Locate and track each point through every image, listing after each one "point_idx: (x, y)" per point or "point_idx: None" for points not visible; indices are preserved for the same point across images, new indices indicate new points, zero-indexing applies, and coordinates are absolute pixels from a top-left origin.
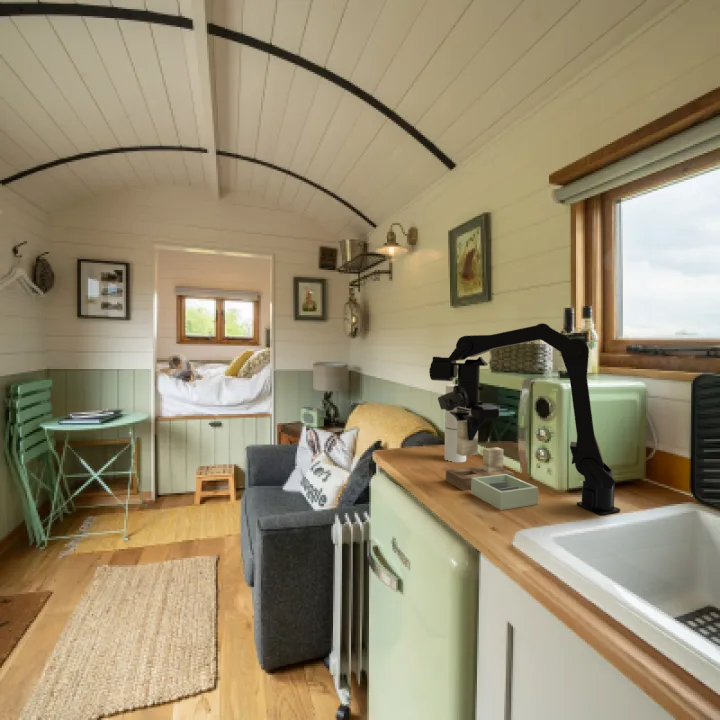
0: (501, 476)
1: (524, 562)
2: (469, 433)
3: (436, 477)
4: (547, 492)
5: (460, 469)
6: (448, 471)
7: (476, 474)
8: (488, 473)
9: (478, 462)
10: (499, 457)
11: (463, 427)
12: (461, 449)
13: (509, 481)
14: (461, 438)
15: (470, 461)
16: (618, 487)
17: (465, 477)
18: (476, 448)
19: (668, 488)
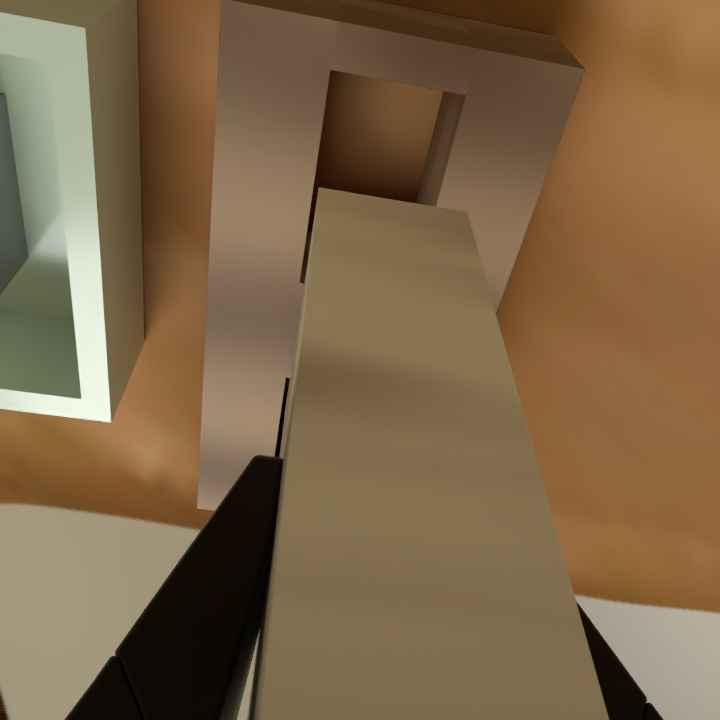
0: (79, 354)
1: None
2: (193, 558)
3: (697, 26)
4: (10, 485)
5: (497, 237)
6: (532, 60)
7: (289, 255)
8: (267, 364)
9: (657, 562)
10: None
11: (271, 634)
12: (335, 238)
13: (49, 365)
14: (335, 366)
15: (712, 542)
16: (4, 717)
17: (259, 77)
18: (280, 454)
19: None
